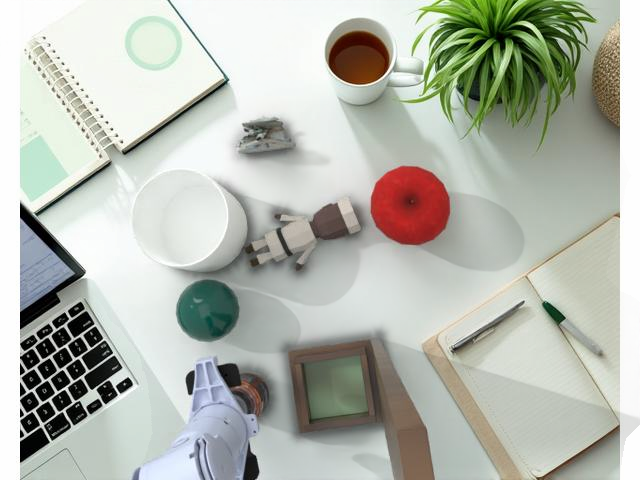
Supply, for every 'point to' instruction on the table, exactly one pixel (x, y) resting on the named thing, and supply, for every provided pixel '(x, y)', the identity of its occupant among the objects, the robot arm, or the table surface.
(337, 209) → the toy
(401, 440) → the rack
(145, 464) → the robot arm
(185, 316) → the sphere
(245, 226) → the cup
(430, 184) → the apple
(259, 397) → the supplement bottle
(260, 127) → the grey irregular chunk
